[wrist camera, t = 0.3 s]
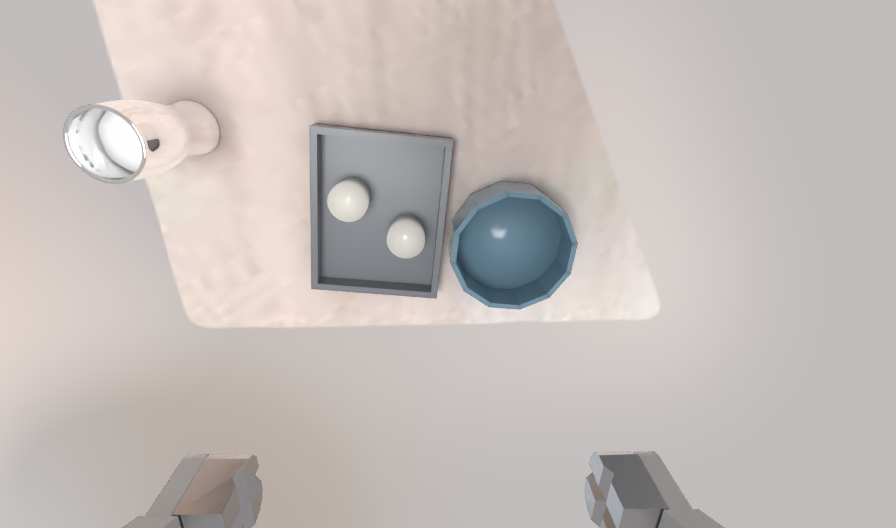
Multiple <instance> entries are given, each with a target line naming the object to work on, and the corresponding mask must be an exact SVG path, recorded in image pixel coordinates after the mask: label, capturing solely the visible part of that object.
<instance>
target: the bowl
mask: <svg viewBox="0 0 896 528" xmlns="http://www.w3.org/2000/svg"><path fill="white" fill-rule="evenodd" d="M577 244H578V243H577V240H576V238H575V235H574V232H573V229H572V226H571V223H570V220H569V217H568V214H567V213H566V212H565V211H564V210H562V209H561V208H560V207H559V206H558V205H557V204H556V203H555V202H554V201H552V200H551V199H550V198H548V197H547V196H546V195H544V194H543V193H542V192H541V191H539V190H538V189H537V188H535V187H534V186H533V185H531V184H522V183H512V182H502V181H500V182H497V183H495V184H493V185H491V186H488V187H486V188H484V189H482V190H479V191H477V192H475V193H473V194H471V195H470V196H469V197H468V199H467V200H466V201H465V203H464V204H463V205H462V207H461V208H460V209H459V211H458V212H457V213H456V215H455V216H454V217H453V219H452V224H451V233H450V242H449V254H450V262H451V265H452V267H453V270H454V272H455V274H456V276H457V278H458V280H459V282H460V284H461V286H462V288H463V290H464V291H465V292H466V293H468V294H469V295H471V296H472V297H474V298H476V299H477V300H479V301H480V302H482V303H483V304H485V305H486V306H488V307H494V308H507V309H522V308H525V307H527V306H530V305H532V304H535V303H537V302H540V301H542V300H545V299H547V298H550V296H551V295H552V294H553V293H554V292H555V291H556V290H557V288H558V287H559V286H560V285H561V284H562V283H563V282H564V281H565V279H566V278H567V277H568V276H569V275H570V274H571V270H572V265H573V261H574V257H575V252H576V248H577Z"/></svg>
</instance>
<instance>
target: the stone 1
mask: <svg viewBox="0 0 896 528" xmlns="http://www.w3.org/2000/svg"><path fill="white" fill-rule="evenodd" d="M370 201H371V192H370V190H369V188H368V186H367V185H366V184H365V183H364V182H363V181H362V180H360V179H358V178H354V177H347V178H344V179H342V180H340V181H339V182H338V183H337V184H336V185H335V186H334V187H333V188H332V189H331V191H330V192H329V194H328V198H327V204H328V208H329V210H330V212H331V213H332V215H333V216H334V217H336V218H337V219H339V220H341V221H344V222H354V221H357V220H359V219H360V218H361V217H363V215H364V214H365V212H366V210H367V208H368V206H369V204H370Z"/></svg>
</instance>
